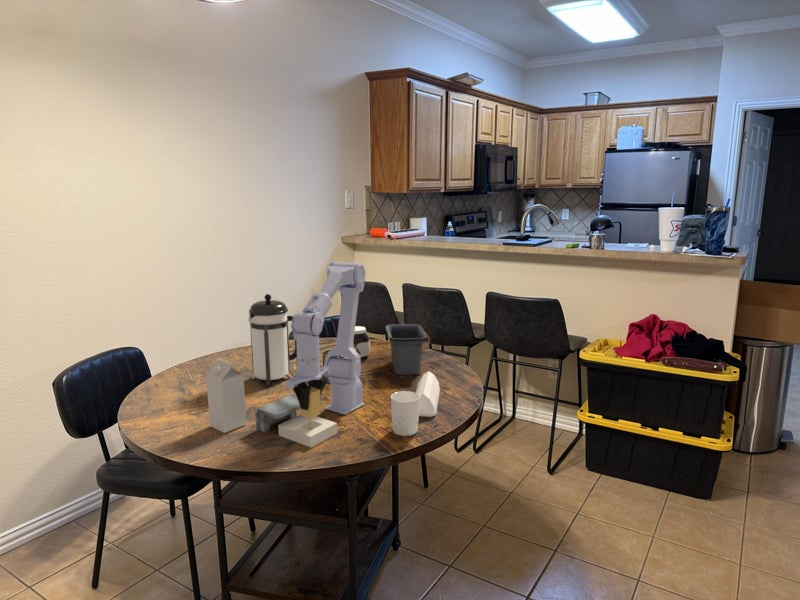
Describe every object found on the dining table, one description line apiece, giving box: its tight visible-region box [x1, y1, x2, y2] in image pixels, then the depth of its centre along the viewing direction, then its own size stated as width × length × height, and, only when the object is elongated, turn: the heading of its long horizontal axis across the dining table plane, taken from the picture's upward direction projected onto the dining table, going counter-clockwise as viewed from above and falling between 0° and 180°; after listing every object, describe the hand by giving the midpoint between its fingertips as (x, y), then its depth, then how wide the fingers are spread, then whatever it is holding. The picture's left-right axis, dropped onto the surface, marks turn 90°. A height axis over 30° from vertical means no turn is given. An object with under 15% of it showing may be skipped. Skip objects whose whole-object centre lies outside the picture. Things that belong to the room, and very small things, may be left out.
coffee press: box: [248, 293, 297, 387], centre depth 185 cm, size 17×16×30 cm
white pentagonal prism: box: [415, 370, 441, 418], centre depth 166 cm, size 7×7×24 cm
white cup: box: [390, 390, 420, 437], centre depth 147 cm, size 8×8×10 cm
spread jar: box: [344, 325, 371, 360], centre depth 209 cm, size 12×11×12 cm
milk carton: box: [205, 357, 247, 434], centre depth 148 cm, size 7×7×19 cm
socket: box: [278, 413, 338, 448], centre depth 145 cm, size 10×12×3 cm
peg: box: [300, 386, 321, 419], centre depth 142 cm, size 4×4×7 cm
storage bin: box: [385, 323, 431, 376], centre depth 198 cm, size 21×16×14 cm
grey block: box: [254, 393, 301, 433], centre depth 150 cm, size 13×9×7 cm
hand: (309, 406), depth 143 cm, fingers closed on peg, 3 cm apart
